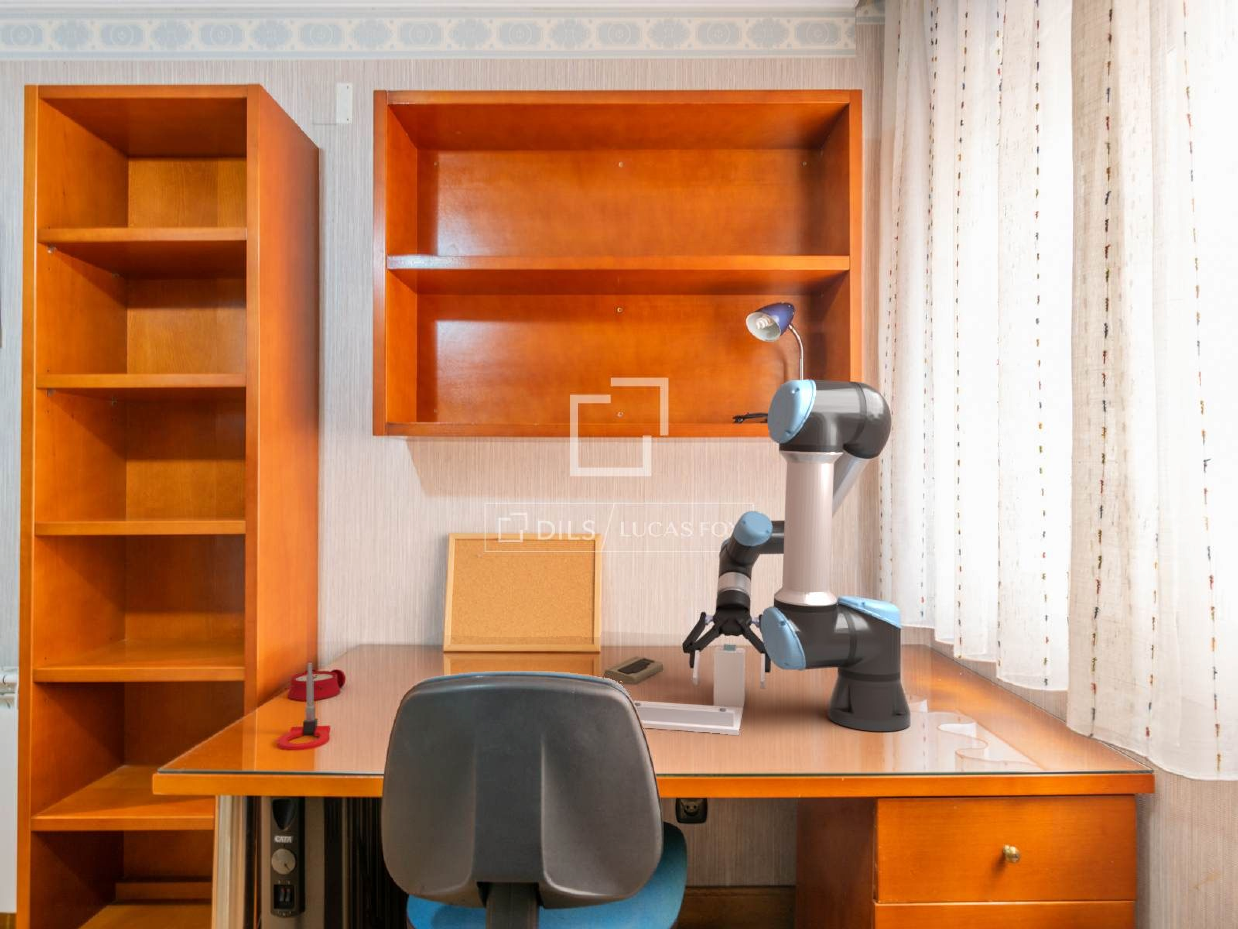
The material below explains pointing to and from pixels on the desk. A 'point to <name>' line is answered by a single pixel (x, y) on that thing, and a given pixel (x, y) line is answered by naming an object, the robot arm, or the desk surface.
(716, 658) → the block
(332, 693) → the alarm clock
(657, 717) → the panel board
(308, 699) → the tow hook
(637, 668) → the computer
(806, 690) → the desk surface
